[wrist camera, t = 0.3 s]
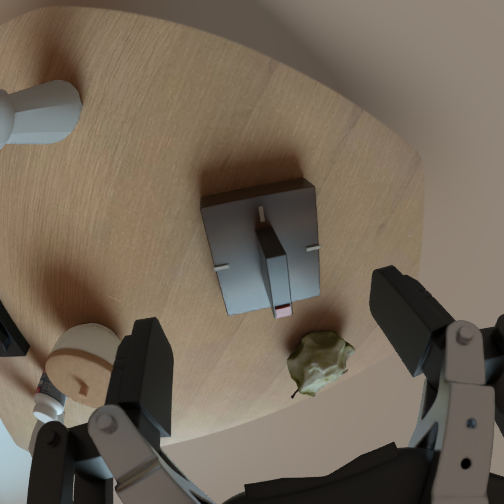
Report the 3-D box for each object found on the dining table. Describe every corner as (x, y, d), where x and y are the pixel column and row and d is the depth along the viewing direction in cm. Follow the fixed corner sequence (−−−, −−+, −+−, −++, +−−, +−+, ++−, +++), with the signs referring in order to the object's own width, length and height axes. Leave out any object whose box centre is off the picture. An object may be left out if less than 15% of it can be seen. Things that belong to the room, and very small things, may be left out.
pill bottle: (44, 360, 33) (27, 404, 26) (72, 373, 35) (59, 419, 28) (44, 377, 35) (30, 417, 28) (70, 388, 37) (59, 431, 29)
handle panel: (199, 197, 26) (198, 209, 23) (305, 177, 27) (316, 186, 24) (225, 299, 32) (227, 317, 29) (312, 279, 33) (321, 296, 30)
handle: (254, 230, 25) (266, 260, 21) (272, 226, 25) (287, 255, 21) (264, 285, 28) (275, 320, 24) (279, 281, 28) (293, 316, 24)
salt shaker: (43, 145, 21) (-46, 183, 9) (39, 91, 18) (-54, 99, 7) (92, 132, 21) (9, 161, 10) (89, 74, 19) (3, 61, 7)
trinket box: (52, 333, 31) (30, 385, 23) (86, 293, 29) (60, 351, 21) (111, 374, 36) (100, 427, 28) (153, 344, 34) (145, 404, 26)
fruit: (288, 368, 42) (289, 409, 34) (284, 322, 38) (286, 365, 31) (346, 361, 41) (356, 401, 34) (351, 315, 37) (365, 356, 30)
